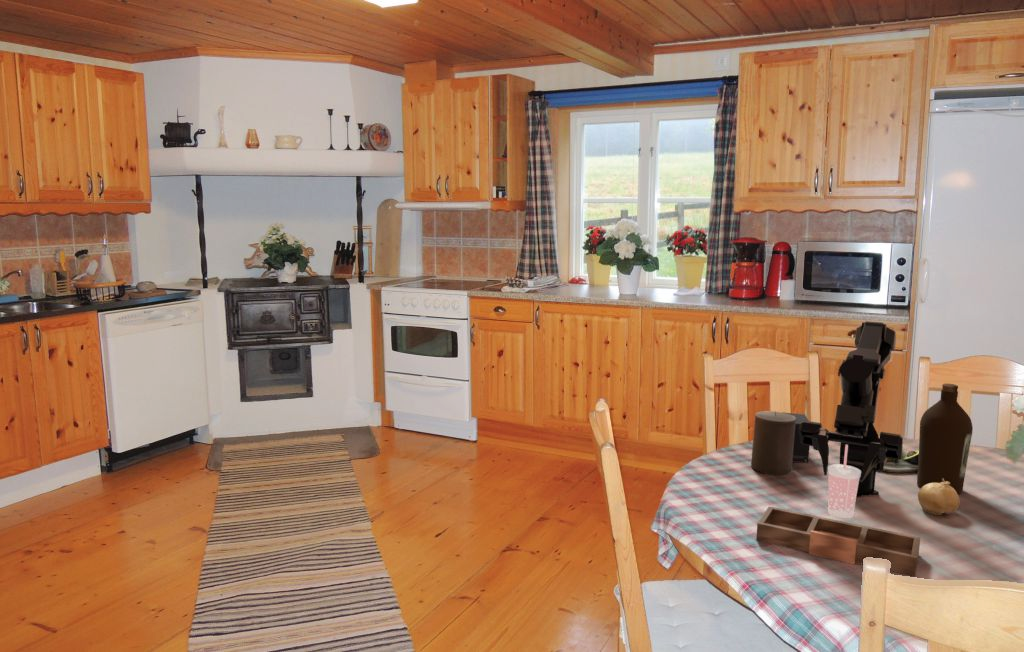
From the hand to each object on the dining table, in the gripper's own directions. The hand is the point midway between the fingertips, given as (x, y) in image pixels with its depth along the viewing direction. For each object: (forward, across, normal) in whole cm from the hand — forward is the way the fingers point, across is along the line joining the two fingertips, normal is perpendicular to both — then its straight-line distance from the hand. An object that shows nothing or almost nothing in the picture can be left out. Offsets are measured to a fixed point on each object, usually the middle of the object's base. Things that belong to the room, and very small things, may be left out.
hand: (842, 477), depth 148 cm
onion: (-10, +16, +30) cm, 36 cm away
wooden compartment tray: (+11, 0, +8) cm, 14 cm away
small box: (-25, -18, +45) cm, 55 cm away
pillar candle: (-16, -20, +36) cm, 44 cm away
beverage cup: (+5, 0, +6) cm, 8 cm away
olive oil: (-21, +16, +41) cm, 49 cm away
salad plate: (-31, +5, +51) cm, 60 cm away
